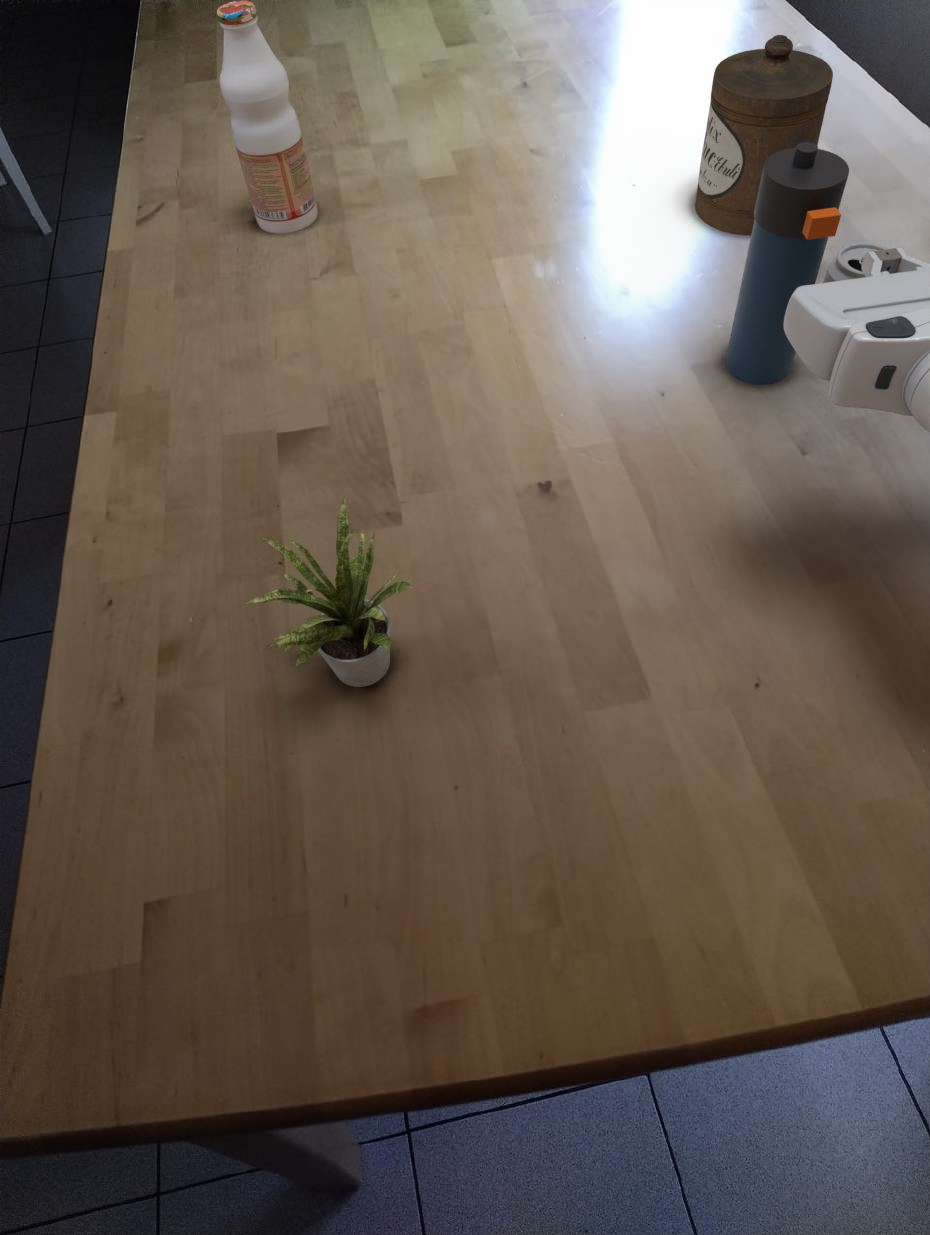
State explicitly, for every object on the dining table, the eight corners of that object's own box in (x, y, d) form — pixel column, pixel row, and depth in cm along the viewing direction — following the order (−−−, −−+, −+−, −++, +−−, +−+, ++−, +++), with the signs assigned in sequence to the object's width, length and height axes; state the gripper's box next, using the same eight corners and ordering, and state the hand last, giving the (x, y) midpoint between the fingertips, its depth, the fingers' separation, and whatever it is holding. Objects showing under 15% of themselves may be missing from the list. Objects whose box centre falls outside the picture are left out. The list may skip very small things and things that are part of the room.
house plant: (289, 604, 88) (245, 491, 75) (425, 590, 88) (404, 475, 75) (282, 728, 80) (230, 625, 66) (431, 713, 79) (409, 607, 66)
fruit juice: (265, 244, 128) (205, 29, 105) (252, 213, 133) (192, 2, 111) (326, 227, 129) (280, 12, 107) (310, 198, 135) (263, -13, 112)
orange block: (835, 236, 84) (841, 214, 82) (806, 240, 84) (812, 218, 82) (829, 228, 84) (836, 206, 83) (801, 232, 84) (807, 210, 83)
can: (792, 347, 106) (817, 257, 96) (830, 320, 108) (858, 229, 98) (844, 375, 102) (876, 284, 92) (883, 347, 104) (917, 255, 95)
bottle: (801, 384, 102) (867, 165, 81) (734, 394, 102) (783, 177, 81) (778, 343, 106) (835, 126, 86) (714, 352, 106) (755, 136, 86)
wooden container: (688, 186, 129) (711, 17, 111) (790, 181, 128) (831, 9, 110) (700, 242, 120) (727, 68, 102) (810, 237, 119) (857, 60, 101)
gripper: (1110, 302, 63) (1015, 205, 71) (835, 340, 63) (772, 238, 71) (1067, 373, 68) (983, 274, 77) (813, 408, 68) (756, 305, 76)
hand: (879, 257), depth 74 cm, fingers closed
